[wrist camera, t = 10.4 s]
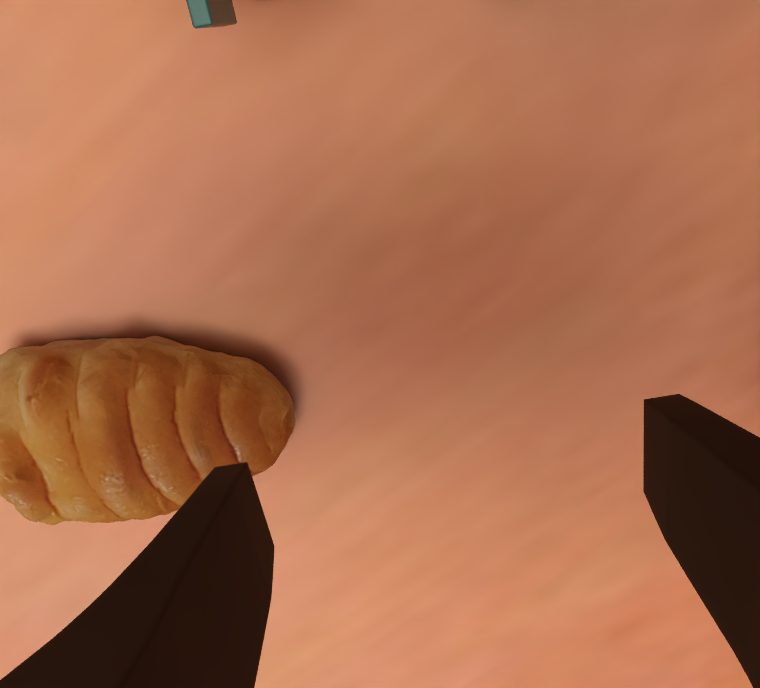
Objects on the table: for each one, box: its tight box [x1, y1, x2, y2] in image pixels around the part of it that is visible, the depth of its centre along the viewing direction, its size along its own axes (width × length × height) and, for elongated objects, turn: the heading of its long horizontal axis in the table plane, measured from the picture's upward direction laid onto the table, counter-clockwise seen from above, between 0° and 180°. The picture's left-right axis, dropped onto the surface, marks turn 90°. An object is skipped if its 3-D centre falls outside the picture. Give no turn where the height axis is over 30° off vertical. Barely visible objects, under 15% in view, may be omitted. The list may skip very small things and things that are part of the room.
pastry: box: [0, 336, 295, 525], centre depth 22 cm, size 9×7×4 cm
